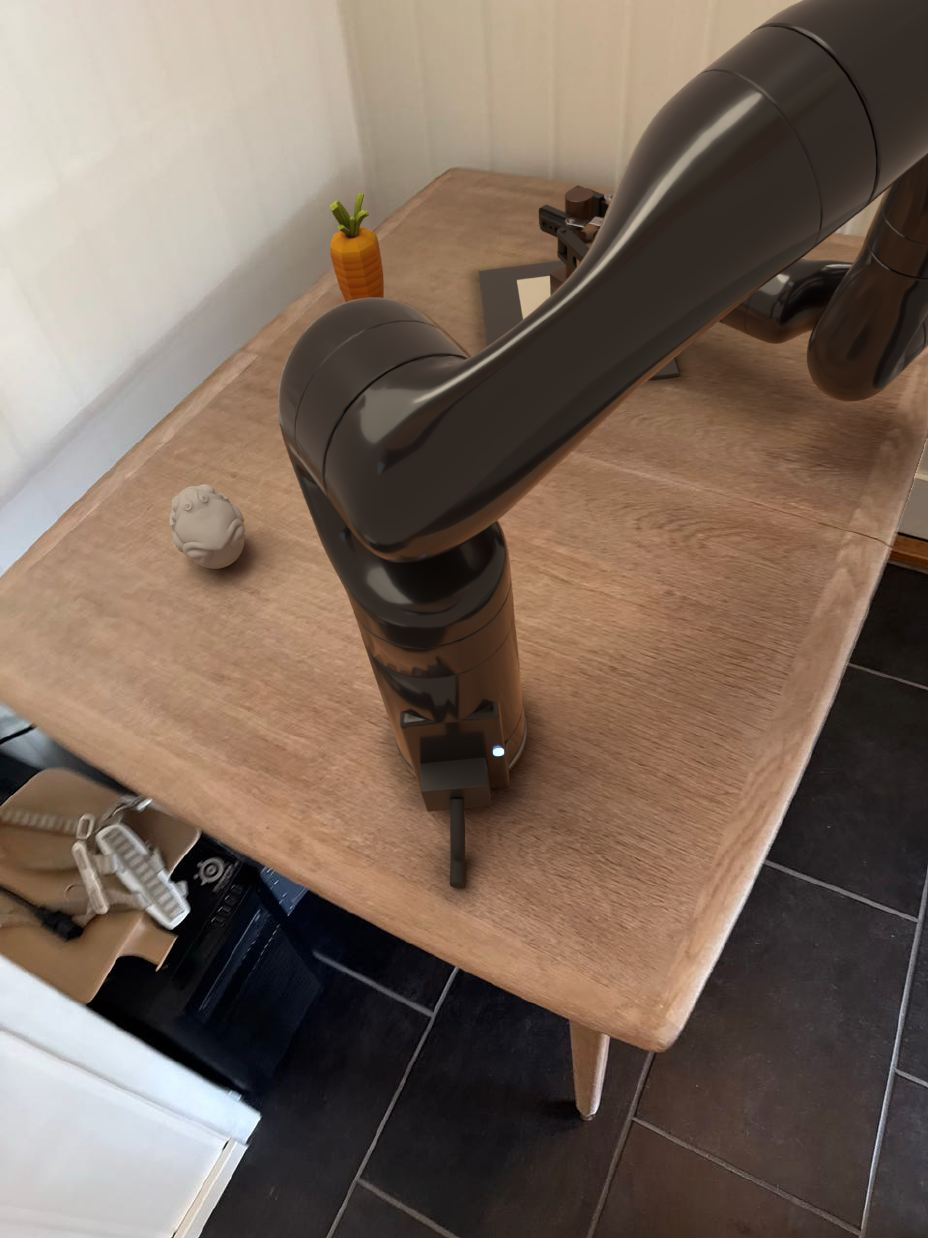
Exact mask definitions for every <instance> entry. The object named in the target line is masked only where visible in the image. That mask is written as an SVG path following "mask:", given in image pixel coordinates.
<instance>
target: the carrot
mask: <svg viewBox="0 0 928 1238" xmlns="http://www.w3.org/2000/svg"><path fill="white" fill-rule="evenodd" d="M364 197H365V194H364V193H362V192H359V193H357V194H356V197H355V201H354V207H353V208H354V209H353V216H350V214H349V212H348V210H347V209H346V208H345V207H344V205H343V204H342V203H341V201H340V200H335V201H334V202H332V203H331V204H330V205H329V208H330V211H331V213H332V215H333V216H334V218H335V220H336V222H337V223H338V225H337V226H336V228H337V230H339V231H337V232H335V233H334V234H333V236H332V237H331V241H330V245H329V255H330V259H331V263H332V267H333V270H334V275H335V277H336V280H337V284H338V287H339V290H340V292H341V295H342V297H343V299H344V302H348V301H351V300H355V299H360V298H368V297H380V298H385V296H384V295H385V294H384V291H385V289H384V288H385V287H384V286H385V285H384V284H385V282H384V269H383V263H382V256H381V249H380V243H379V238H378V236H377V234H376V233H375V232H373V231H372V230H370V229H368V228H367V227H364V226H362V222H363V221H364V219H365V218H367V217H368V216H370V213H369V211H368V210H366V209H362V205H363V202H364Z"/></svg>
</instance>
